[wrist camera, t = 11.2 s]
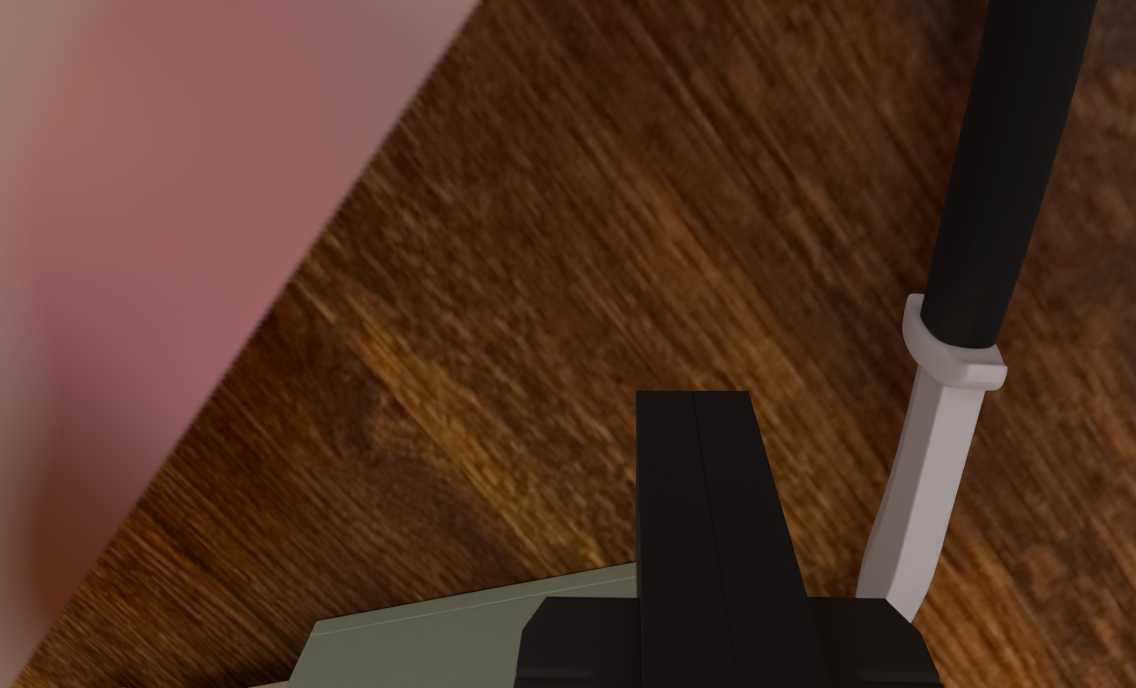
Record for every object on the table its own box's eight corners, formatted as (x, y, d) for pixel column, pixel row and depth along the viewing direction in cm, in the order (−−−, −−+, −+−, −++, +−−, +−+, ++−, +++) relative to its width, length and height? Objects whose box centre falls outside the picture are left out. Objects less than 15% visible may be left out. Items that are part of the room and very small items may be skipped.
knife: (857, 703, 30) (898, 835, 26) (805, 699, 30) (837, 830, 26) (1047, -112, 21) (1170, -133, 16) (970, -115, 21) (1069, -138, 16)
